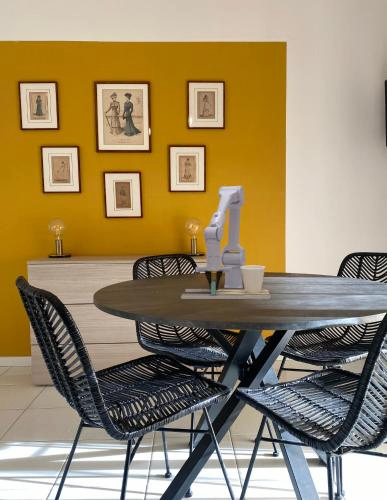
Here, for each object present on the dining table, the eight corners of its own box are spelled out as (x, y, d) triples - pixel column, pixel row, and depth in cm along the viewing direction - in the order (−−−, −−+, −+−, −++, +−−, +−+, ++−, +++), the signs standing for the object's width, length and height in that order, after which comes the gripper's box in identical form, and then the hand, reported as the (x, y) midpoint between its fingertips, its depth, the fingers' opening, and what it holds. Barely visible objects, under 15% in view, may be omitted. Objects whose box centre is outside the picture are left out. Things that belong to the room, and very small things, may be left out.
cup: (269, 293, 203) (269, 266, 202) (259, 297, 195) (258, 269, 193) (247, 291, 208) (247, 264, 207) (236, 295, 200) (236, 268, 199)
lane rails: (185, 291, 210) (185, 278, 209) (267, 291, 207) (267, 277, 207) (181, 299, 193) (180, 284, 192) (270, 299, 190) (270, 284, 190)
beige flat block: (212, 291, 208) (212, 278, 208) (267, 291, 206) (267, 278, 206) (211, 296, 197) (211, 282, 197) (269, 296, 195) (269, 282, 195)
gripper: (194, 257, 198) (195, 291, 199) (231, 257, 197) (232, 291, 198) (196, 255, 205) (196, 288, 206) (231, 255, 204) (232, 288, 205)
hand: (213, 289), depth 202 cm, fingers closed
